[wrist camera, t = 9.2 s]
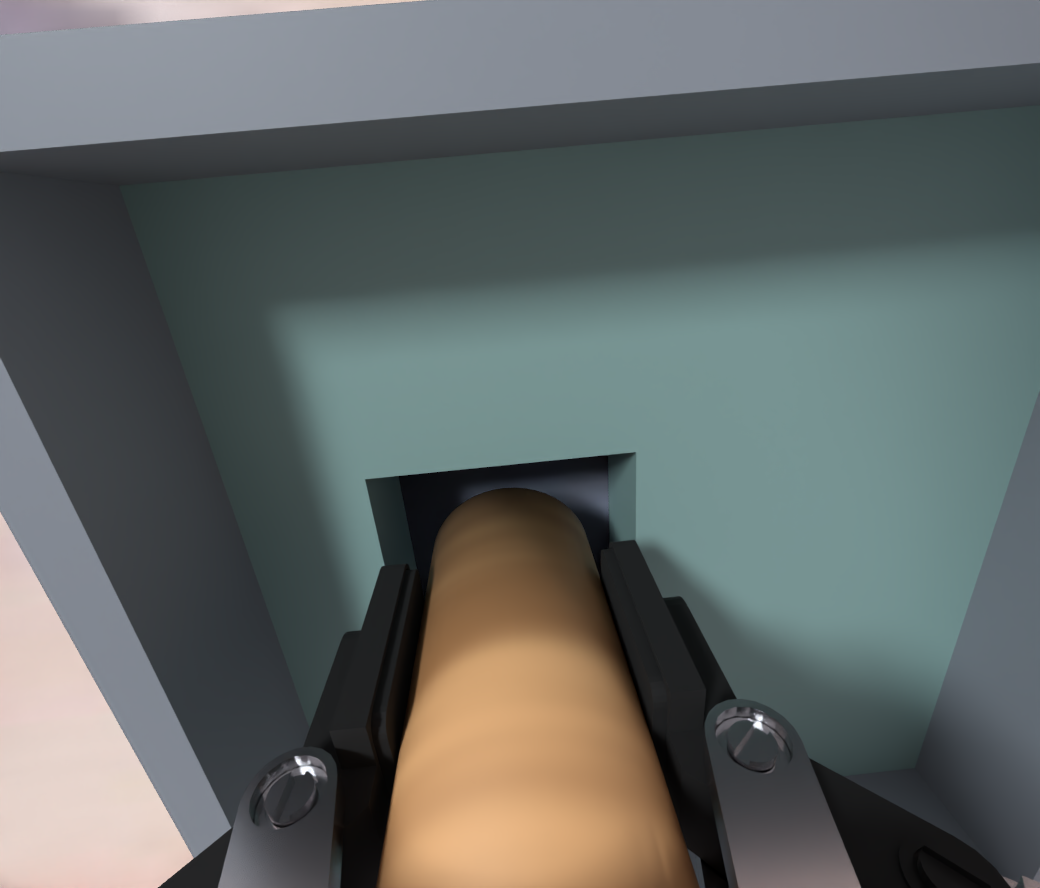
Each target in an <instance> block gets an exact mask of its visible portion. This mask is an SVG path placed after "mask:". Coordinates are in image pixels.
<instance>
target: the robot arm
mask: <svg viewBox="0 0 1040 888" xmlns="http://www.w3.org/2000/svg"><path fill="white" fill-rule="evenodd" d="M601 583H602V586H603V589H604V592H605V595H606V598H607V601H608V604H609V607H610V611H611V614H612V617H613V620H614V623H615V626H616V629H617V632H618V635H619V639H620V642H621V645H622V648H623V651H624V654H625V657H626V660H627V663H628V666H629V670H630V673H631V676H632V679H633V682H634V685H635V688H636V691H637V694H638V698H639V701H640V704H641V707H642V710H643V713H644V716H645V719H646V722H647V726H648V729H649V732H650V735H651V738H652V741H653V744H654V747H655V750H656V753H657V756H658V760H659V763H660V766H661V769H662V772H663V775H664V778H665V781H666V784H667V787H668V791H669V794H670V797H671V800H672V803H673V806H674V809H675V812H676V815H677V819H678V822H679V825H680V828H681V831H682V834H683V837H684V840H685V843H686V846H687V849H689V850H690V851H691V852H693V853H694V854H695V862H696V868H697V874H698V880H699V887H700V888H1040V882H1037V881H1035V880H1032V879H1030V878H1027V877H1025V876H1021V878H1020V880H1019V882H1016V881H1013V880H1011V879H1008V878H1006V877H1003V876H1001V874H1000V873H999V872H998V870H997V869H996V868H995V867H994V866H993V865H992V864H991V863H990V862H988V861H987V860H986V859H985V858H984V857H983V856H982V855H981V854H980V853H978V852H977V851H976V850H975V849H973V848H972V847H970V846H969V845H967V844H966V843H964V842H963V841H961V840H959V839H958V838H956V837H955V836H953V835H951V834H949V833H947V832H946V831H944V830H942V829H940V828H938V827H936V826H934V825H933V824H931V823H929V822H927V821H925V820H923V819H921V818H920V817H918V816H916V815H914V814H912V813H910V812H908V811H907V810H905V809H903V808H901V807H899V806H897V805H896V804H894V803H892V802H890V801H888V800H886V799H884V798H883V797H881V796H879V795H877V794H875V793H873V792H871V791H870V790H868V789H866V788H864V787H862V786H860V785H858V784H857V783H855V782H853V781H851V780H849V779H847V778H846V777H844V776H842V775H840V774H838V773H836V772H834V771H833V770H831V769H829V768H827V767H825V766H823V765H821V764H820V763H818V762H816V761H814V760H812V759H810V758H809V757H808V754H807V752H806V750H805V747H804V745H803V742H802V740H801V738H800V736H799V735H798V733H797V731H796V730H795V728H794V727H793V726H792V725H791V724H790V723H789V722H788V721H787V719H786V718H785V717H784V716H782V715H781V714H779V713H778V712H776V711H775V710H773V709H772V708H770V707H768V706H766V705H763V704H761V703H758V702H756V701H751V700H745V699H737V698H736V696H735V694H734V692H733V690H732V689H731V687H730V685H729V683H728V681H727V679H726V677H725V675H724V673H723V672H722V670H721V668H720V666H719V664H718V662H717V660H716V658H715V657H714V655H713V653H712V651H711V649H710V647H709V645H708V643H707V641H706V640H705V638H704V636H703V634H702V632H701V630H700V628H699V626H698V624H697V623H696V621H695V619H694V617H693V615H692V613H691V611H690V609H689V607H688V606H687V604H686V602H685V601H684V599H683V598H682V597H680V596H676V597H667V598H663V597H662V595H661V593H660V591H659V589H658V586H657V584H656V582H655V580H654V578H653V576H652V574H651V572H650V570H649V567H648V565H647V563H646V561H645V559H644V557H643V555H642V553H641V551H640V548H639V546H638V544H637V542H636V541H635V540H627V541H617V542H610V543H609V549H604V550H601ZM424 602H425V600H424V595H423V590H422V585H421V580H420V575H419V571H418V570H417V569H413V570H410V567H409V565H408V564H397V565H387V566H382V567H381V569H380V571H379V575H378V578H377V581H376V584H375V587H374V590H373V594H372V597H371V600H370V603H369V606H368V609H367V613H366V616H365V619H364V622H363V625H362V628H361V630H358V631H349V632H346V633H345V634H344V635H343V637H342V639H341V642H340V645H339V648H338V650H337V653H336V656H335V659H334V662H333V664H332V667H331V670H330V673H329V676H328V678H327V681H326V684H325V687H324V690H323V692H322V695H321V698H320V701H319V704H318V707H317V709H316V712H315V715H314V718H313V721H312V723H311V726H310V729H309V732H308V735H307V737H306V740H305V743H304V746H303V747H302V748H296V749H293V750H291V751H288V752H286V753H283V754H281V755H280V756H278V757H277V758H275V759H273V760H272V761H270V762H269V763H267V764H266V765H265V766H264V767H263V768H262V769H261V770H260V771H259V772H258V773H257V774H256V775H255V776H254V778H253V779H252V780H251V782H250V783H249V785H248V786H247V788H246V789H245V791H244V793H243V796H242V798H241V801H240V803H239V807H238V811H237V814H236V818H235V822H234V826H233V827H232V828H231V829H230V830H228V831H227V832H226V833H225V834H223V835H222V836H221V837H220V838H218V839H217V840H216V841H215V842H214V843H212V844H211V845H210V846H209V847H207V848H206V849H205V850H204V851H203V852H201V853H200V854H199V855H198V856H196V857H195V858H194V859H193V860H191V861H190V862H189V863H188V864H187V865H185V866H184V867H183V868H182V869H180V870H179V871H178V872H177V873H176V874H174V875H173V876H172V877H171V878H169V879H168V880H167V881H166V882H164V883H163V884H162V885H161V886H160V887H158V888H376V884H377V878H378V872H379V867H380V861H381V855H382V849H383V843H384V837H385V831H386V825H387V819H388V814H389V808H390V802H391V796H392V790H393V784H394V778H395V772H396V767H397V761H398V755H399V749H400V743H401V737H402V731H403V725H404V719H405V714H406V708H407V702H408V696H409V690H410V684H411V678H412V672H413V666H414V660H415V655H416V649H417V643H418V637H419V631H420V625H421V619H422V613H423V607H424Z"/></svg>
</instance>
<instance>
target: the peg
mask: <svg viewBox="0 0 1040 888" xmlns="http://www.w3.org/2000/svg"><path fill="white" fill-rule="evenodd" d="M376 888H700V887H699V884H698V881H697V878H696V874H695V871H694V868H693V865H692V862H691V859H690V856H689V853H688V850H687V846H686V843H685V840H684V837H683V834H682V831H681V828H680V825H679V822H678V819H677V815H676V812H675V809H674V806H673V803H672V800H671V797H670V794H669V791H668V787H667V784H666V781H665V778H664V775H663V772H662V769H661V766H660V763H659V760H658V756H657V753H656V750H655V747H654V744H653V741H652V738H651V735H650V732H649V729H648V726H647V722H646V719H645V716H644V713H643V710H642V707H641V704H640V701H639V698H638V694H637V691H636V688H635V685H634V682H633V679H632V676H631V673H630V670H629V666H628V663H627V660H626V657H625V654H624V651H623V648H622V645H621V642H620V639H619V635H618V632H617V629H616V626H615V623H614V620H613V617H612V614H611V611H610V607H609V604H608V601H607V598H606V595H605V592H604V589H603V586H602V583H601V579H600V576H599V573H598V570H597V567H596V564H595V561H594V558H593V555H592V551H591V548H590V545H589V542H588V539H587V536H586V533H585V530H584V528H583V526H582V524H581V522H580V521H579V519H578V518H577V516H576V515H575V514H574V513H573V512H572V511H571V509H569V508H568V507H567V506H566V505H565V504H563V503H562V502H560V501H559V500H557V499H556V498H554V497H552V496H550V495H547V494H545V493H542V492H539V491H536V490H531V489H525V488H502V489H496V490H491V491H488V492H484V493H482V494H479V495H477V496H474V497H472V498H471V499H469V500H467V501H465V502H464V503H462V504H461V505H460V506H458V507H457V508H456V509H455V510H454V511H453V512H452V513H451V514H450V515H449V516H448V517H447V518H446V520H445V521H444V522H443V524H442V526H441V528H440V529H439V531H438V534H437V536H436V539H435V544H434V548H433V554H432V560H431V566H430V572H429V578H428V584H427V590H426V596H425V602H424V607H423V613H422V619H421V625H420V631H419V637H418V643H417V649H416V655H415V660H414V666H413V672H412V678H411V684H410V690H409V696H408V702H407V708H406V714H405V719H404V725H403V731H402V737H401V743H400V749H399V755H398V761H397V767H396V772H395V778H394V784H393V790H392V796H391V802H390V808H389V814H388V819H387V825H386V831H385V837H384V843H383V849H382V855H381V861H380V867H379V872H378V878H377V884H376Z"/></svg>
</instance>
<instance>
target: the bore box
mask: <svg viewBox="0 0 1040 888" xmlns="http://www.w3.org/2000/svg"><path fill="white" fill-rule="evenodd" d="M602 455H608V488H609V543H610V542H617V541H627V540H635V541H636V542H637V544H638V546H639V548H640V551H641V553H642V555H643V557H644V559H645V561H646V563H647V565H648V567H649V570H650V572H651V574H652V576H653V578H654V580H655V582H656V584H657V586H658V589H659V591H660V593H661V595H662V597H663V598H667V597H676V596H680V597H682V598H683V599H684V601H685V602H686V604H687V606H688V607H689V609H690V611H691V613H692V615H693V617H694V619H695V621H696V623H697V624H698V626H699V628H700V630H701V632H702V634H703V636H704V638H705V640H706V641H707V643H708V645H709V647H710V649H711V651H712V653H713V655H714V657H715V658H716V660H717V662H718V664H719V666H720V668H721V670H722V672H723V673H724V675H725V677H726V679H727V681H728V683H729V685H730V687H731V689H732V690H733V692H734V694H735V696H736V698H737V699H745V700H751V701H756V702H758V703H761V704H763V705H766V706H768V707H770V708H772V709H773V710H775V711H776V712H778V713H779V714H781V715H782V716H784V717H785V718H786V719H787V721H788V722H789V723H790V724H791V725H792V726H793V727H794V728H795V730H796V731H797V733H798V735H799V736H800V738H801V740H802V742H803V745H804V747H805V750H806V752H807V754H808V757H809V758H810V759H812V760H814V761H816V762H818V763H820V764H821V765H823V766H825V767H827V768H829V769H831V770H833V771H834V772H836V773H838V774H840V775H842V776H844V777H846V778H847V779H849V780H851V781H853V782H855V783H857V784H858V785H860V786H862V787H864V788H866V789H868V790H870V791H871V792H873V793H875V794H877V795H879V796H881V797H883V798H884V799H886V800H888V801H890V802H892V803H894V804H896V805H897V806H899V807H901V808H903V809H905V810H907V811H908V812H910V813H912V814H914V815H916V816H918V817H920V818H921V819H923V820H925V821H927V822H929V823H931V824H933V825H934V826H936V827H938V828H940V829H942V830H944V831H946V832H947V833H949V834H951V835H953V836H955V837H956V838H958V839H959V840H961V841H963V842H964V843H966V844H967V845H969V846H970V847H972V848H973V849H975V850H976V851H977V852H978V853H980V854H981V855H982V856H983V857H984V858H985V859H986V860H987V861H988V862H990V863H991V864H992V865H993V866H994V867H995V868H996V869H997V870H998V872H999V873H1000V874H1001V876H1003V877H1006V878H1008V879H1011V880H1013V881H1016V882H1019V880H1020V878H1021V876H1025V877H1027V878H1030V879H1032V880H1035V881H1037V882H1040V0H426V1H413V2H401V3H389V4H376V5H364V6H352V7H339V8H327V9H315V10H302V11H290V12H278V13H265V14H253V15H241V16H228V17H216V18H204V19H191V20H179V21H166V22H154V23H142V24H129V25H117V26H105V27H92V28H80V29H68V30H55V31H43V32H31V33H18V34H6V35H0V512H1V514H2V516H3V517H4V519H5V521H6V523H7V524H8V526H9V528H10V530H11V532H12V533H13V535H14V537H15V539H16V541H17V542H18V544H19V546H20V548H21V550H22V551H23V553H24V555H25V557H26V558H27V560H28V562H29V564H30V566H31V567H32V569H33V571H34V573H35V575H36V576H37V578H38V580H39V582H40V584H41V585H42V587H43V589H44V591H45V593H46V594H47V596H48V598H49V600H50V601H51V603H52V605H53V607H54V609H55V610H56V612H57V614H58V616H59V618H60V619H61V621H62V623H63V625H64V627H65V628H66V630H67V632H68V634H69V635H70V637H71V639H72V641H73V643H74V644H75V646H76V648H77V650H78V652H79V653H80V655H81V657H82V659H83V661H84V662H85V664H86V666H87V668H88V669H89V671H90V673H91V675H92V677H93V678H94V680H95V682H96V684H97V686H98V687H99V689H100V691H101V693H102V695H103V696H104V698H105V700H106V702H107V704H108V705H109V707H110V709H111V711H112V712H113V714H114V716H115V718H116V720H117V721H118V723H119V725H120V727H121V729H122V730H123V732H124V734H125V736H126V738H127V739H128V741H129V743H130V745H131V746H132V748H133V750H134V752H135V754H136V755H137V757H138V759H139V761H140V763H141V764H142V766H143V768H144V770H145V772H146V773H147V775H148V777H149V779H150V781H151V782H152V784H153V786H154V788H155V789H156V791H157V793H158V795H159V797H160V798H161V800H162V802H163V804H164V806H165V807H166V809H167V811H168V813H169V815H170V816H171V818H172V820H173V822H174V823H175V825H176V827H177V829H178V831H179V832H180V834H181V836H182V838H183V840H184V841H185V843H186V845H187V847H188V849H189V850H190V852H191V854H192V856H193V857H194V858H195V857H196V856H198V855H199V854H200V853H201V852H203V851H204V850H205V849H206V848H207V847H209V846H210V845H211V844H212V843H214V842H215V841H216V840H217V839H218V838H220V837H221V836H222V835H223V834H225V833H226V832H227V831H228V830H230V829H231V828H232V827H233V826H234V822H235V818H236V814H237V811H238V807H239V803H240V801H241V798H242V796H243V793H244V791H245V789H246V788H247V786H248V785H249V783H250V782H251V780H252V779H253V778H254V776H255V775H256V774H257V773H258V772H259V771H260V770H261V769H262V768H263V767H264V766H265V765H266V764H267V763H269V762H270V761H272V760H273V759H275V758H277V757H278V756H280V755H281V754H283V753H286V752H288V751H291V750H293V749H296V748H302V747H303V746H304V743H305V740H306V737H307V735H308V732H309V729H310V726H311V723H312V721H313V718H314V715H315V712H316V709H317V707H318V704H319V701H320V698H321V695H322V692H323V690H324V687H325V684H326V681H327V678H328V676H329V673H330V670H331V667H332V664H333V662H334V659H335V656H336V653H337V650H338V648H339V645H340V642H341V639H342V637H343V635H344V634H345V633H346V632H349V631H358V630H361V628H362V625H363V622H364V619H365V616H366V613H367V609H368V606H369V603H370V600H371V597H372V594H373V590H374V587H375V584H376V581H377V578H378V575H379V571H380V569H381V567H382V566H387V565H397V564H408V565H409V567H410V570H413V569H417V567H416V562H415V557H414V552H413V547H412V542H411V537H410V532H409V527H408V522H407V517H406V511H405V506H404V501H403V496H402V491H401V486H400V481H399V476H403V475H413V474H423V473H432V472H442V471H452V470H462V469H472V468H482V467H492V466H502V465H512V464H522V463H532V462H542V461H552V460H562V459H572V458H582V457H592V456H602ZM687 850H688V853H689V856H690V859H691V862H692V865H693V868H694V871H695V874H696V878H697V881H698V884H699V880H698V874H697V868H696V862H695V854H694V853H693V852H691V851H690V850H689V849H687Z"/></svg>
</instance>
